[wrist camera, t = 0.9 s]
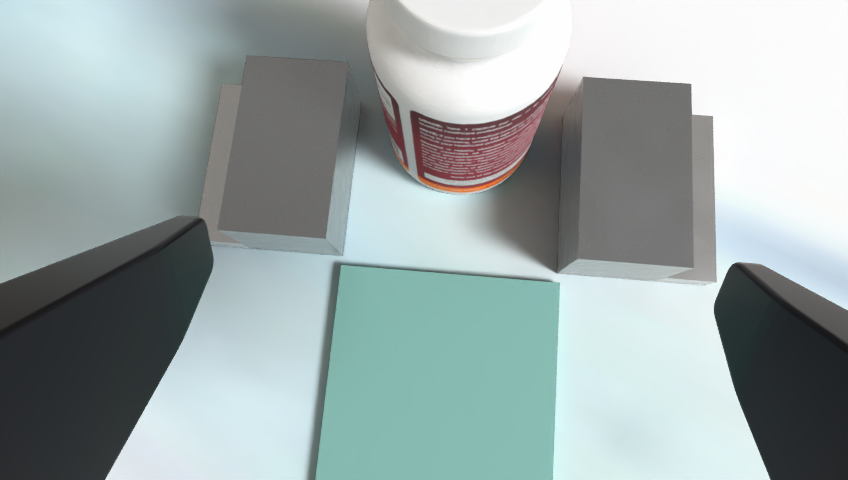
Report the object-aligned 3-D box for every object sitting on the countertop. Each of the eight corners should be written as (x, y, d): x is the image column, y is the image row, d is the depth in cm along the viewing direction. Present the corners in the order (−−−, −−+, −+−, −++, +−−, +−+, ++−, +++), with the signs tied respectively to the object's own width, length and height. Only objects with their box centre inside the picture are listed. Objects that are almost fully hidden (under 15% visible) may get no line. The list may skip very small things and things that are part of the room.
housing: (704, 285, 22) (752, 272, 19) (204, 244, 23) (163, 226, 20) (701, 126, 24) (745, 87, 20) (230, 94, 25) (196, 52, 21)
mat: (548, 518, 20) (551, 522, 20) (315, 494, 21) (313, 497, 21) (557, 284, 22) (559, 282, 22) (342, 266, 23) (341, 265, 22)
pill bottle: (557, 118, 24) (655, -77, 13) (475, 226, 23) (506, 115, 12) (445, 43, 25) (448, -196, 14) (361, 144, 24) (296, -27, 13)
